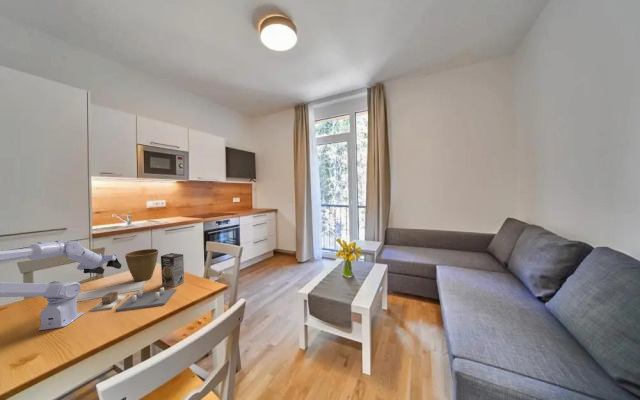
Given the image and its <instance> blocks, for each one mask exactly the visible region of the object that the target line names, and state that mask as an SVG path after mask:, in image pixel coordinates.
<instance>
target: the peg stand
mask: <svg viewBox="0 0 640 400" xmlns="http://www.w3.org/2000/svg"><path fill="white" fill-rule="evenodd" d="M176 292H177V288H172V289H165V287H164V286H163V287H160V288H159V290H155V291H147V292H143V289H142V290H139V291H137V293H134V294H132V295H131V296H130V297H128V298H127V300H126V299H125V301H124V302H123V303H121V304H120V305H119V306H118V307H117V308H115V312H121V311H128V310H138V309H143V308H151V307H159V306H164V305H166V304H167V303H168V301H170V300H171V298H172V297H173V296H174V294H175V293H176Z"/></svg>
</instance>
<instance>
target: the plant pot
mask: <svg viewBox="0 0 640 400" xmlns="http://www.w3.org/2000/svg"><path fill="white" fill-rule="evenodd" d="M158 256H159V249H156V248H147V249H145V248H144V249H140V250H139V249H138V250H134V251H130V252H127V253H125V255H124V257H125V261H126V265H127V267H128V270H129V273H130V274H131V277H132V279H133V281H134V282H135V283H137V282H142V281H146V282H147V281H148V280H151V279H152V278H153V275H154V272H155V269H156V266H157V262H158Z"/></svg>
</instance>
